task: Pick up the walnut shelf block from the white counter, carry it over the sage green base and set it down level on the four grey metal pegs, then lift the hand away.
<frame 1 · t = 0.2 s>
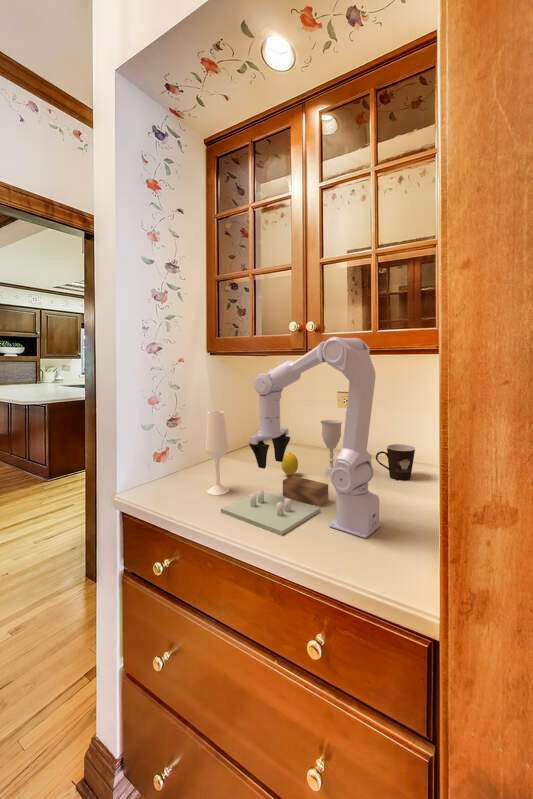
hand: (270, 464, 103), 10 cm above the countertop, tool pointing down, fingers open, 7 cm apart
champagne flute: (218, 491, 111), on the countertop
coffee mug: (395, 477, 120), on the countertop
chalice: (331, 474, 124), on the countertop
shelf block: (305, 499, 104), on the countertop
peg base: (270, 512, 95), on the countertop
lemon: (289, 476, 123), on the countertop
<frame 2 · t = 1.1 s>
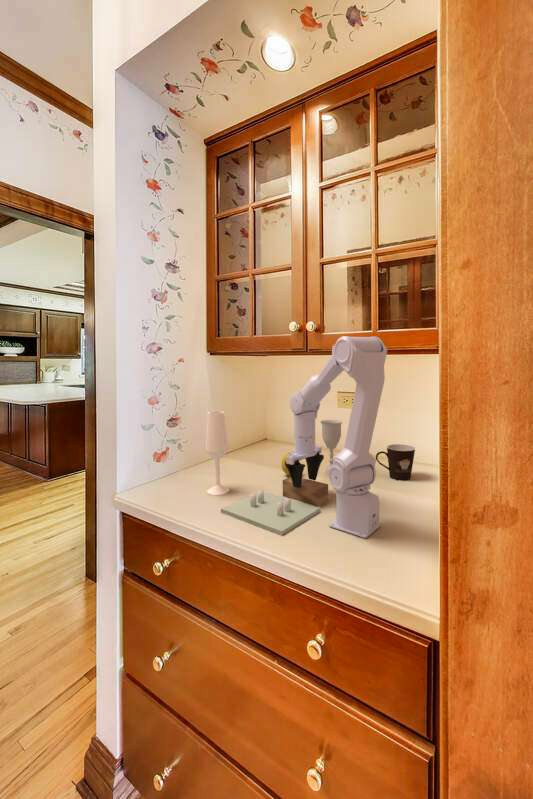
hand: (304, 483, 103), 4 cm above the countertop, tool pointing down, fingers open, 7 cm apart
nothing on the countertop moved.
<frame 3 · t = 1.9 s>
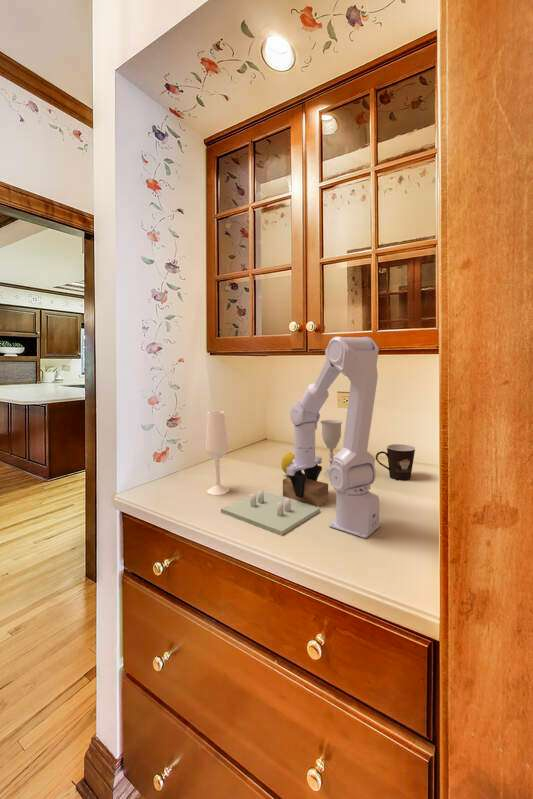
hand: (305, 493, 104), 1 cm above the countertop, tool pointing down, fingers closed on shelf block, 5 cm apart
shelf block: (305, 498, 104), on the countertop, touching gripper
everything else where it was.
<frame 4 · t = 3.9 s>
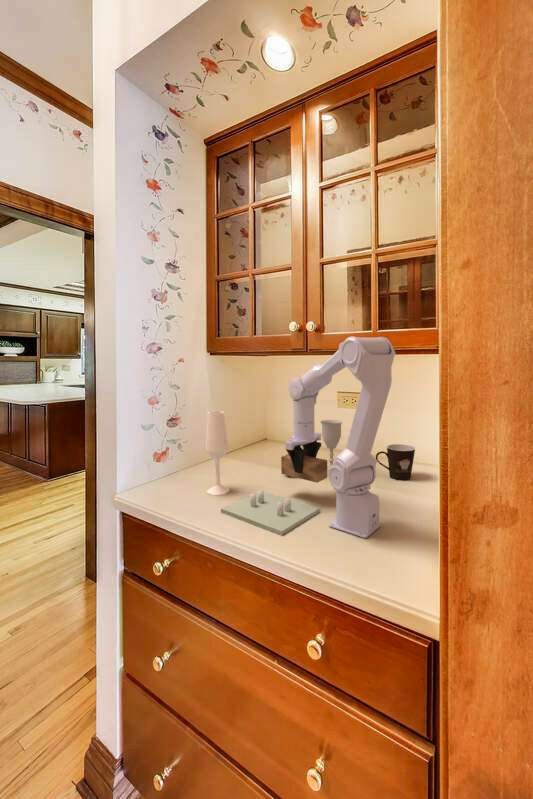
hand: (304, 469, 103), 8 cm above the countertop, tool pointing down, fingers closed on shelf block, 5 cm apart
shelf block: (303, 475, 103), point 7 cm above the countertop, touching gripper
everything else where it was.
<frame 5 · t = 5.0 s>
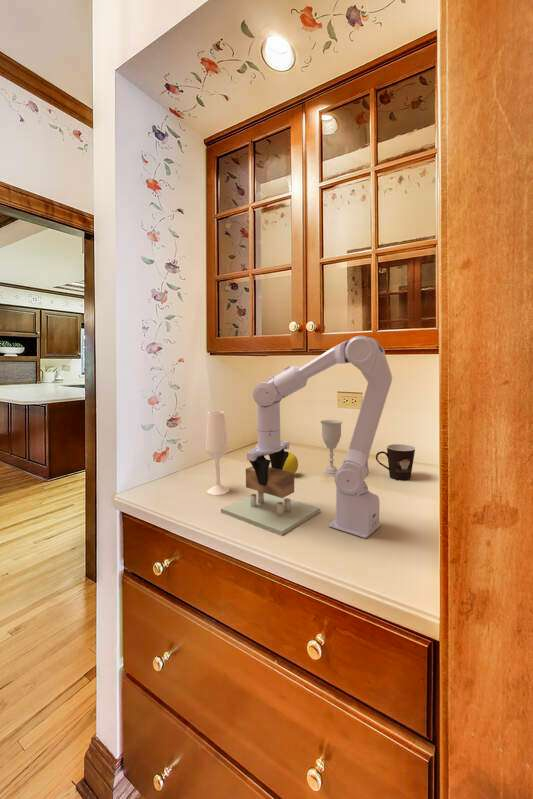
hand: (269, 481, 94), 8 cm above the countertop, tool pointing down, fingers closed on shelf block, 5 cm apart
shelf block: (269, 489, 95), point 6 cm above the countertop, touching gripper
everything else where it was.
when the fingers open (7 cm above the countertop, at t = 5.7 s): shelf block stays where it is, resting on peg base.
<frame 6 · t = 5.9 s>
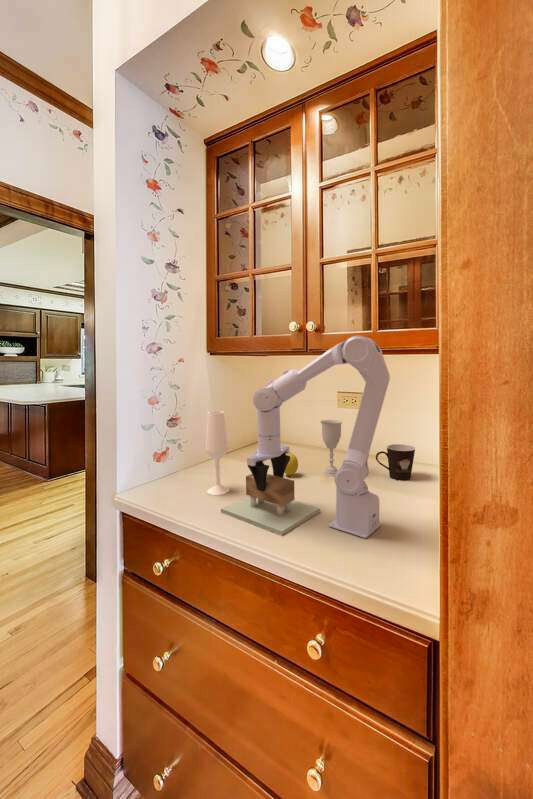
hand: (269, 486, 94), 7 cm above the countertop, tool pointing down, fingers open, 6 cm apart
shelf block: (269, 497, 95), point 4 cm above the countertop, touching peg base
everything else where it was.
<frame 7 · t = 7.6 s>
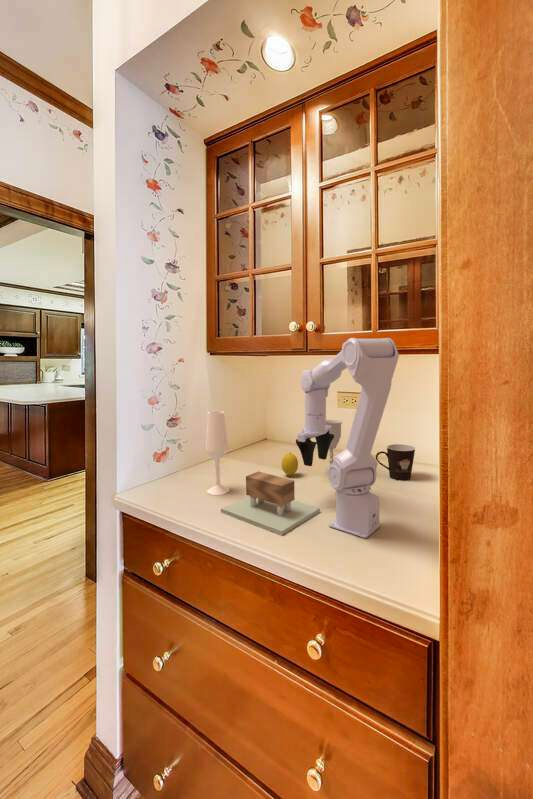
hand: (315, 462, 103), 10 cm above the countertop, tool pointing down, fingers open, 7 cm apart
nothing on the countertop moved.
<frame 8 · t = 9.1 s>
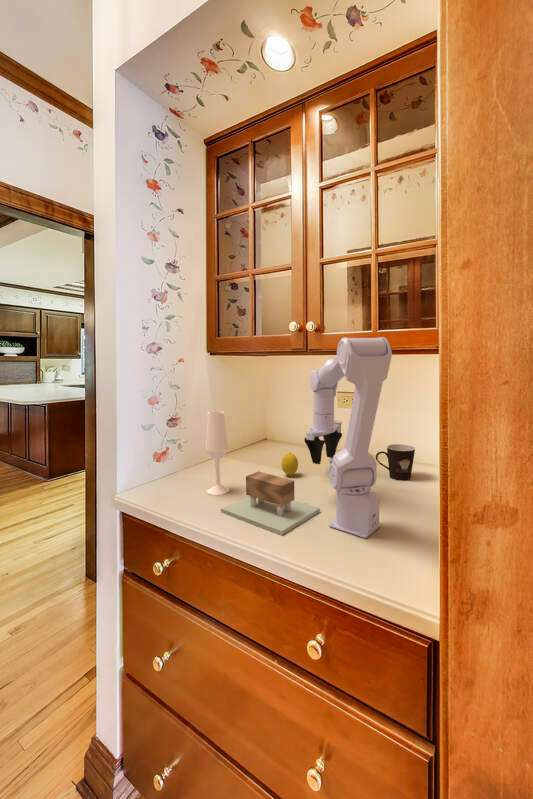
hand: (323, 460, 104), 10 cm above the countertop, tool pointing down, fingers open, 7 cm apart
nothing on the countertop moved.
at the end: shelf block 0.0 cm off-centre on the peg base, point 4.0 cm above the peg base's base; shelf block tilted 0°; the gripper is holding nothing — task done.
